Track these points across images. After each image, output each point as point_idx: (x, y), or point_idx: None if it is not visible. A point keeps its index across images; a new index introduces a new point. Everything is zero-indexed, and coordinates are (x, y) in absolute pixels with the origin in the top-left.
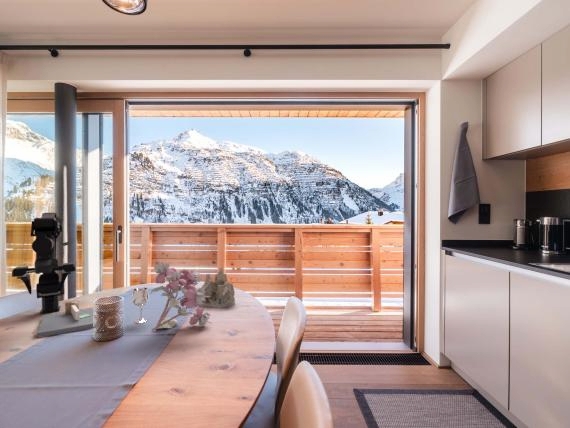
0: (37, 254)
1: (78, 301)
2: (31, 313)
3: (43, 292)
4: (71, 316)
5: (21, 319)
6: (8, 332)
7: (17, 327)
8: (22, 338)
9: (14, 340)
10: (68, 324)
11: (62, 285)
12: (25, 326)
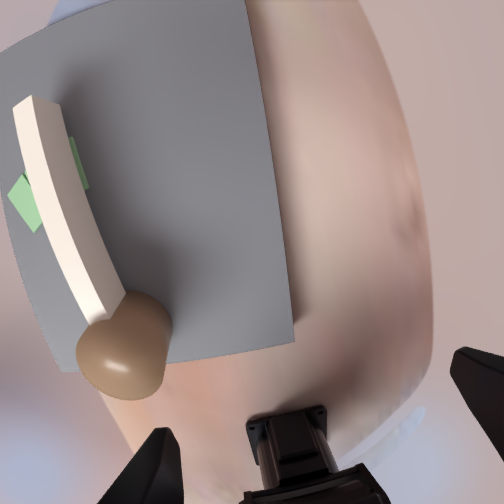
0: None
1: (78, 364)
2: (355, 416)
3: (343, 488)
4: (109, 233)
5: (385, 348)
6: (400, 149)
7: (384, 219)
8: (305, 13)
9: (331, 7)
10: (94, 58)
11: (130, 474)
12: (353, 218)
